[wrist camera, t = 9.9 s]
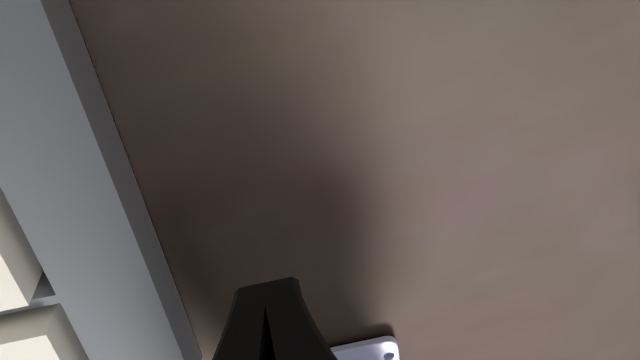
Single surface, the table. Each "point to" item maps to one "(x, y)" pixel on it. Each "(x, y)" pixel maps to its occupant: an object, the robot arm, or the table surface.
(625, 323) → the table surface
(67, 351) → the tile
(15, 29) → the keypad board
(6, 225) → the tile
